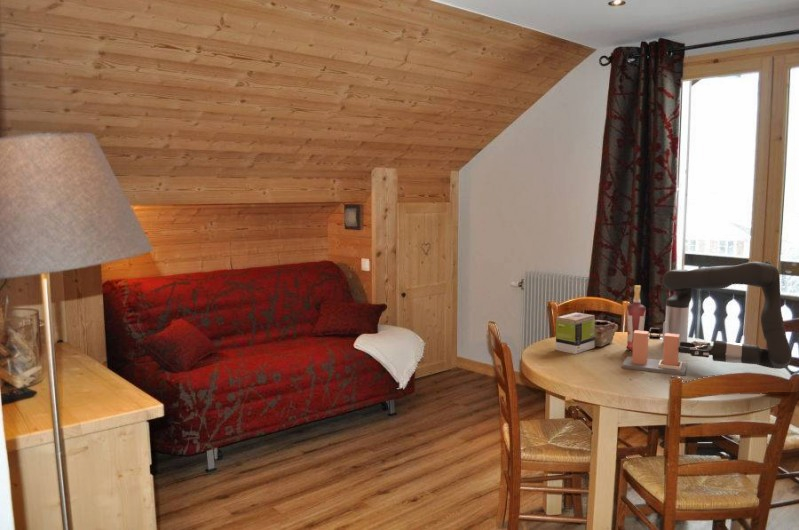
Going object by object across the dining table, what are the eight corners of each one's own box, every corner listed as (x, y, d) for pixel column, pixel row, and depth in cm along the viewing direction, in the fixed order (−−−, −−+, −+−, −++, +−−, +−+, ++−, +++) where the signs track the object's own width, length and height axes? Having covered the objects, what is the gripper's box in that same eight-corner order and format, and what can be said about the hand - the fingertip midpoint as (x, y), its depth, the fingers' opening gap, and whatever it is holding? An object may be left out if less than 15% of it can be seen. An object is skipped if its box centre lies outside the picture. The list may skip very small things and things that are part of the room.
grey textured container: (572, 344, 282) (573, 322, 280) (596, 336, 295) (596, 316, 294) (600, 349, 272) (600, 327, 271) (622, 341, 286) (623, 320, 285)
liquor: (643, 353, 264) (646, 287, 261) (625, 352, 267) (627, 286, 264) (644, 349, 271) (646, 285, 268) (625, 348, 274) (628, 284, 270)
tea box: (574, 344, 281) (575, 311, 279) (594, 348, 273) (596, 315, 271) (554, 350, 271) (555, 316, 269) (574, 354, 263) (576, 319, 262)
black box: (668, 337, 296) (669, 327, 295) (671, 341, 288) (671, 331, 288) (638, 335, 299) (639, 325, 299) (640, 339, 292) (640, 329, 291)
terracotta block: (662, 366, 241) (664, 335, 240) (664, 363, 245) (665, 332, 244) (677, 368, 239) (678, 337, 237) (678, 364, 243) (679, 334, 242)
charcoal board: (622, 367, 243) (623, 334, 242) (627, 359, 256) (628, 327, 254) (684, 375, 233) (686, 340, 232) (686, 366, 246) (688, 332, 244)
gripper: (728, 337, 238) (680, 333, 246) (727, 346, 226) (678, 341, 233) (726, 357, 239) (679, 352, 247) (726, 366, 227) (677, 361, 234)
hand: (679, 347), depth 240 cm, fingers open, 8 cm apart
